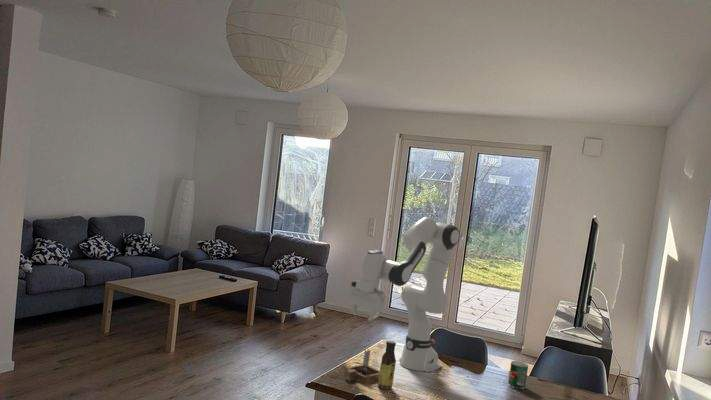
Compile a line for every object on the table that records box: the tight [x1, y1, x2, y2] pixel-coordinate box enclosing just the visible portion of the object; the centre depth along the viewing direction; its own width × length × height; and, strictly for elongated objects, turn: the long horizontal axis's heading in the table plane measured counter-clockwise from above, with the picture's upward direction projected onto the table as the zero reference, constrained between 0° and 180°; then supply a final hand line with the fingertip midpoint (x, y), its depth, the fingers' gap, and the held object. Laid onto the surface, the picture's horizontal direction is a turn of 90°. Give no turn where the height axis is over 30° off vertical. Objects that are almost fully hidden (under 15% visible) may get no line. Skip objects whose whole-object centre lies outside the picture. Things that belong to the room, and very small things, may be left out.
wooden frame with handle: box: [344, 364, 380, 385], centre depth 251 cm, size 16×12×4 cm
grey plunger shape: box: [360, 349, 371, 376], centre depth 252 cm, size 6×6×12 cm
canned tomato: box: [507, 360, 529, 388], centre depth 268 cm, size 8×8×11 cm
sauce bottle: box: [377, 340, 397, 390], centre depth 243 cm, size 7×6×20 cm
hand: (362, 317), depth 248 cm, fingers open, 8 cm apart
